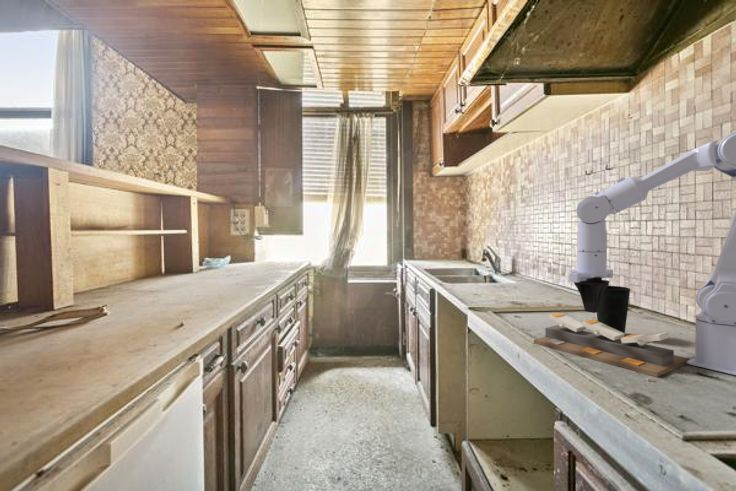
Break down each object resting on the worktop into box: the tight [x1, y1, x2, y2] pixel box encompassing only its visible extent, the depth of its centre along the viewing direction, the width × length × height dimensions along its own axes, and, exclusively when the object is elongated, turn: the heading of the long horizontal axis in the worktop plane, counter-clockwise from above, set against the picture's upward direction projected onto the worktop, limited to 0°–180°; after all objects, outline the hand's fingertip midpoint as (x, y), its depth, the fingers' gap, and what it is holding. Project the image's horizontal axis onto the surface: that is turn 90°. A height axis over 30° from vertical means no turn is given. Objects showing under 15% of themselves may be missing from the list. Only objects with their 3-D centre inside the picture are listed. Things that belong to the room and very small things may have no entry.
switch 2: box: [581, 318, 626, 340], centre depth 83 cm, size 7×4×2 cm, turn 31°
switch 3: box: [621, 331, 670, 346], centre depth 76 cm, size 7×4×2 cm, turn 31°
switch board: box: [533, 324, 690, 378], centre depth 82 cm, size 25×14×3 cm, turn 31°
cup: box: [596, 285, 631, 337], centre depth 96 cm, size 8×8×12 cm
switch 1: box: [548, 312, 587, 332], centre depth 90 cm, size 7×4×2 cm, turn 31°
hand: (591, 311), depth 85 cm, fingers closed
